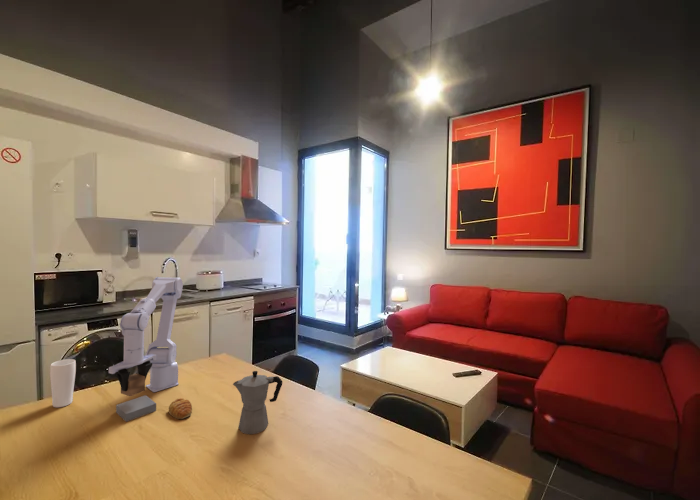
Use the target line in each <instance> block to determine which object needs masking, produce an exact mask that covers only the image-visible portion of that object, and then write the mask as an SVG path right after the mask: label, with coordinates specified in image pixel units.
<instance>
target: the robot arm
mask: <svg viewBox="0 0 700 500" xmlns="http://www.w3.org/2000/svg"><path fill="white" fill-rule="evenodd" d="M183 286H184V283H183V280H182V278H181V277H180V276H179V277H178V276H177V277H163V276H160V277H159V276H155V277H154V278H153V280H152V282H151V289H150V292H149V293H148V294H147V296H146V297H144V298H142V299H140V300H139V301H138V302H137V304H136V305H135V306H134V307H133V308H132V310H131V311H130V312H127V313H126V314H124V315H122V317H121V320H120V323H119V327H120V330H121V335H122V336H123V361H120V362H118V363H116V364H114V365H111V366H109V367H108V374H111V375H115V377H116V378H117V380H118V382H119V385H120V390H121V389H122V391H127V390H128V379H129V376H130V375H131V371H128V369H130V368H133V367H137V374H140V375H143V376H145V381H146V379H147V376H148V374H149V377H150V378H149V384H145V388H147V389H149V390H150V391H151V392H152V393H156V392H159V391H160V392H161V391H163V390H166V389H169V388H172V387H175V386H178V385H179V366H178V362H176V358H177V355H178V354H177V348H178V347H177V344H176V343H175V342H174V341H172V339H171V338H172V329H173V325H174V320H175V313H176V307H177V301H178V299H181V297H182V294H183ZM160 299H162V307H161V311H160V312H161V313H160V318H159V323H158V326H157V327H158V329H157V333H156V334H157V335H156V339H155V340H154V341H152V342H151V343H150V344H148V347H147V350H146V352H145V329H146V328H147V327H148V325H149V324H148V323H149V320H150V316H151V314H153V312H154V311H155V309H156V307H157V305H156V304H157V302H158V301H159V300H160ZM144 352H145V353H144ZM144 354H145V355H144ZM149 372H150V373H149Z"/></svg>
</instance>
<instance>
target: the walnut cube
mask: <svg viewBox="0 0 700 500" xmlns="http://www.w3.org/2000/svg"><path fill="white" fill-rule="evenodd" d="M144 391H146V380H145V376H143V375H140V374H138V373H133V374H130V375H129V379H128V390H127V391H122V389H121V388H120V394H122V395H124V396H126V397H132V396H134V395H138V394H139V393H142V392H144Z"/></svg>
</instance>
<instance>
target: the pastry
mask: <svg viewBox="0 0 700 500" xmlns="http://www.w3.org/2000/svg"><path fill="white" fill-rule="evenodd" d="M168 414H169V415H170V416H172V417H173V418H174V419H177V420H179V419H180V420H183V419H185V418H188V417H191V414H193V406H192V403H191V402H190V400H189V399H185V398H183V397H182V398H181V397H180V398H179V397H178V398H177V399H175V400H174V401H172V402H171V403H170V405H169V406H168Z"/></svg>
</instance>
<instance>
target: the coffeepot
mask: <svg viewBox="0 0 700 500" xmlns="http://www.w3.org/2000/svg"><path fill="white" fill-rule="evenodd" d="M258 372H259V371H257V370H253V371H252V373H251V375H247V376H243V378H241V379H239V380H236V381H234V382H233V383H232V386H234V387H235V388H236V389H237V391H238V392H239V394H240V397H241V403H242V404H243V405H242V406H243V407H242V408H241V411H240V412H241V413H240V419H239V422H238V426H237V427H238V429H239V431H240V432H241V433H243V434H245V435H257V434H260V433H262V432H263V431H265V430H266V429H267V427H268V425H269V417H268V412H267V405H266V404H265V403H266V400H267V396H268V391H269V385H270V384H273V383H277V384H276V385H275V391H274V392H273V397H272V398H269V402H270V403H272V402H277V399H278V396H279V394H280V391H281V389H282V385H283V380H282V379H281V378H280V377H279V376H278V375H277V376H276V375H275V376H267V375H265V374H258Z"/></svg>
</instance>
